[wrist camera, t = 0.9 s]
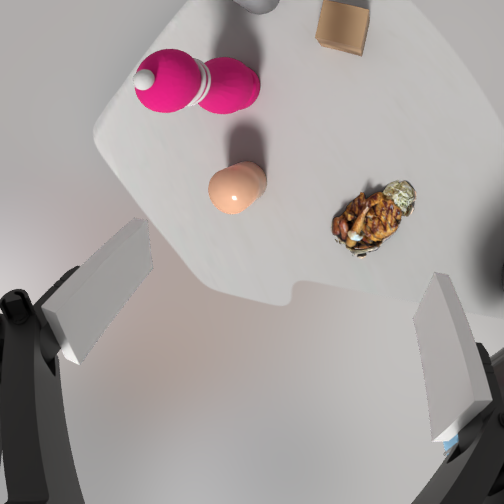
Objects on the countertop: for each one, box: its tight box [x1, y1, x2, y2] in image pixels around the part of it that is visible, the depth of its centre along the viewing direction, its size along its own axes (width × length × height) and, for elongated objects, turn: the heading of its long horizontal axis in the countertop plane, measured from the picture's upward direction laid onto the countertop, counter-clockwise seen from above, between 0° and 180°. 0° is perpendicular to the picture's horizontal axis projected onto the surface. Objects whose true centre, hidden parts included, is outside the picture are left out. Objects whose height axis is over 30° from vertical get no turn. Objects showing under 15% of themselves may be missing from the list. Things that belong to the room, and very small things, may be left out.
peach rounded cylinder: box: [208, 161, 267, 214], centre depth 40 cm, size 6×6×6 cm
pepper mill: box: [133, 49, 260, 114], centre depth 29 cm, size 7×7×20 cm
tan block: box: [315, 0, 370, 56], centre depth 27 cm, size 5×5×5 cm
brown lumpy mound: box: [331, 180, 416, 258], centre depth 37 cm, size 7×12×4 cm, turn 143°
